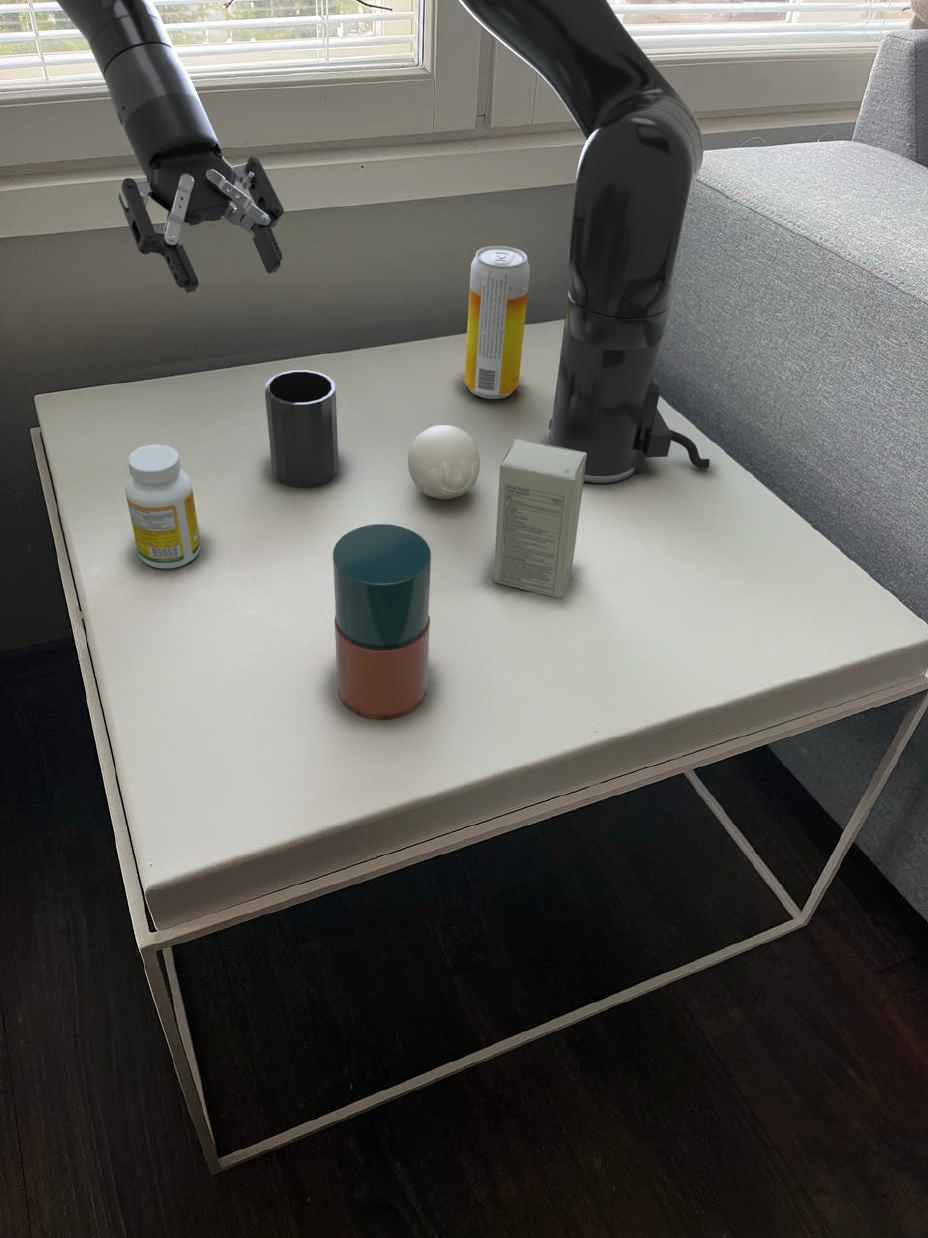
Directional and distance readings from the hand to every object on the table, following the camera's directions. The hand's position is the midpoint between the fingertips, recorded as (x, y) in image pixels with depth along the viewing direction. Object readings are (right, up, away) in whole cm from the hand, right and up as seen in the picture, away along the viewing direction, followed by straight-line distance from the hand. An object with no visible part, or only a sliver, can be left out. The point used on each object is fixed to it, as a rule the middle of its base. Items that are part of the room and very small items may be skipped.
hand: (235, 278), depth 91 cm
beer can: (+25, -6, +18) cm, 31 cm away
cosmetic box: (+27, -28, -6) cm, 40 cm away
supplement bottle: (-4, -26, -6) cm, 27 cm away
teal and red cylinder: (+15, -37, -17) cm, 44 cm away
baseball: (+20, -20, +2) cm, 28 cm away
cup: (+6, -17, +4) cm, 19 cm away
